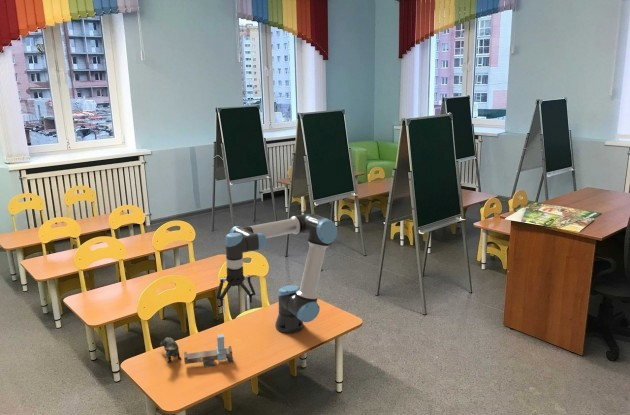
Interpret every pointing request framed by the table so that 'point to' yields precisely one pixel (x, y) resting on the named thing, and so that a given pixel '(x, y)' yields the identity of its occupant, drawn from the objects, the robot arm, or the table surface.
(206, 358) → the beam
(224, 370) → the table surface
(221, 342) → the rider
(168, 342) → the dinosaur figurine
